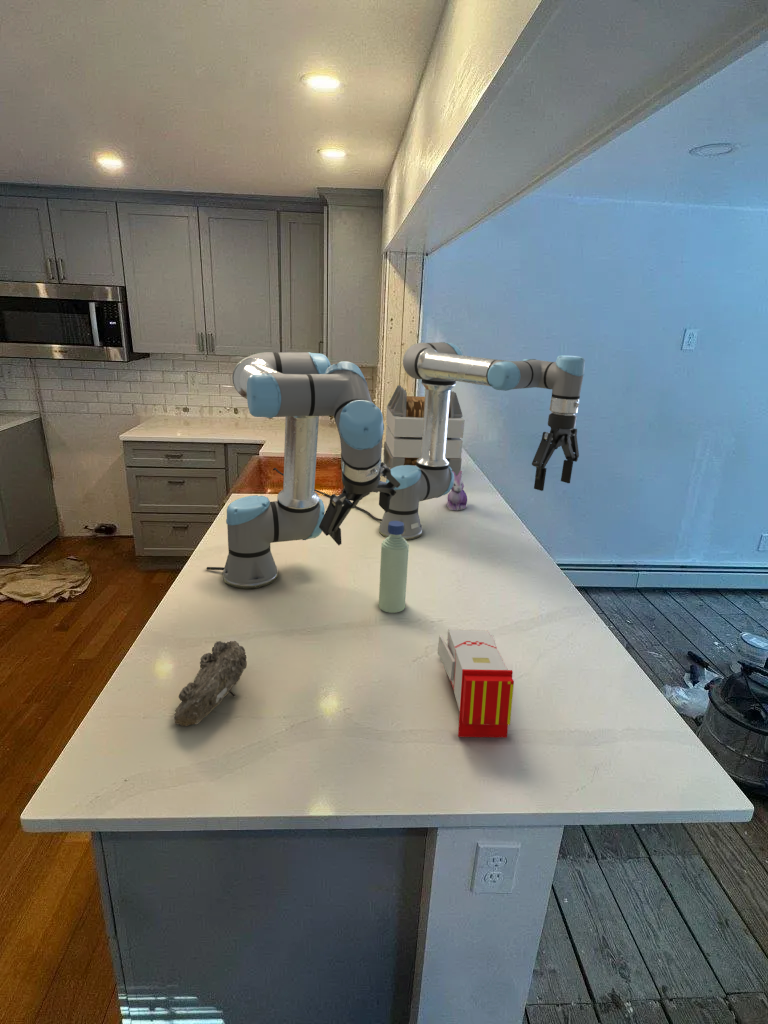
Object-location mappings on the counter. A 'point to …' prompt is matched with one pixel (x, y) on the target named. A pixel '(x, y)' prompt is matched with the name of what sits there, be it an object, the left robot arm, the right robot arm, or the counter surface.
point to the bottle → (393, 573)
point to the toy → (478, 682)
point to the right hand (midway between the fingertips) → (552, 485)
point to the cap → (396, 527)
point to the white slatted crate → (418, 430)
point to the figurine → (457, 494)
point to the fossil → (211, 682)
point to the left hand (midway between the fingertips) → (360, 523)
